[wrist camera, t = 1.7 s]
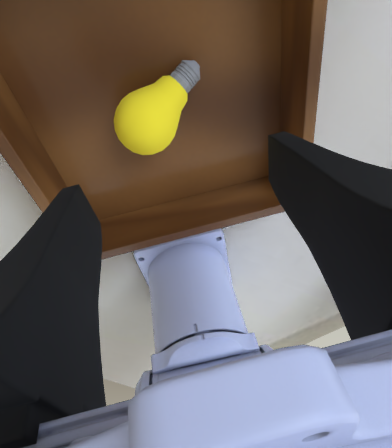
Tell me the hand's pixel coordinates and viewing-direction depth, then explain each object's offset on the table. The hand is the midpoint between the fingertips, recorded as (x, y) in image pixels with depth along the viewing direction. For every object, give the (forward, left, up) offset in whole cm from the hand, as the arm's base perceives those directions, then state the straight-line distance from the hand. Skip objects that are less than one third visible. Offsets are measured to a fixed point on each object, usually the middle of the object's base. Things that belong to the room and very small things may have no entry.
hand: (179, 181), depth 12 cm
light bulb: (0, 0, -9) cm, 9 cm away
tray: (0, 0, -9) cm, 9 cm away
